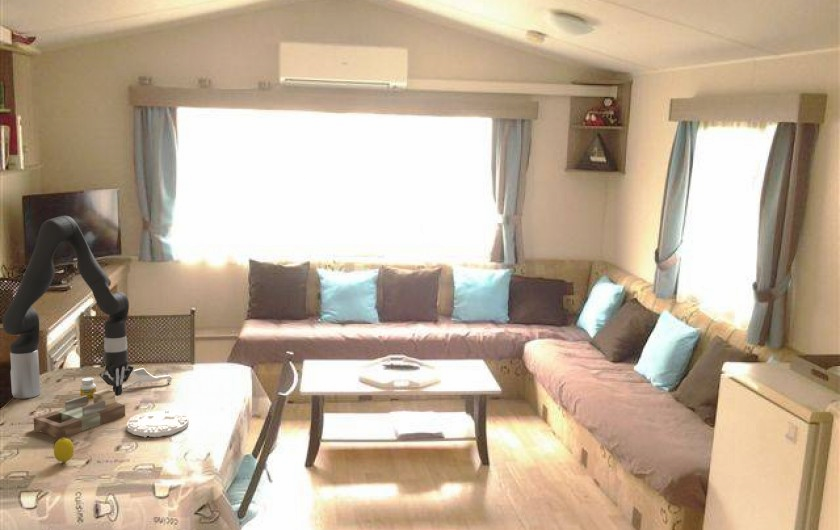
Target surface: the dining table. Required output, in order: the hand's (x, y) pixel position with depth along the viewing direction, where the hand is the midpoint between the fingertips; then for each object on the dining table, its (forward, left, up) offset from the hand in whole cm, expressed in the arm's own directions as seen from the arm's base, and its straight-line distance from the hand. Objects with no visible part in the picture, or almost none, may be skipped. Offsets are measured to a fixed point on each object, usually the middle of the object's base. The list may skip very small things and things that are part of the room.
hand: (117, 394), depth 269 cm
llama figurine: (-13, +23, -6) cm, 27 cm away
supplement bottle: (-13, -3, -6) cm, 14 cm away
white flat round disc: (+24, -3, -6) cm, 25 cm away
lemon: (+24, -38, -6) cm, 45 cm away
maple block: (0, -6, -2) cm, 6 cm away
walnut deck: (0, -15, -6) cm, 16 cm away
